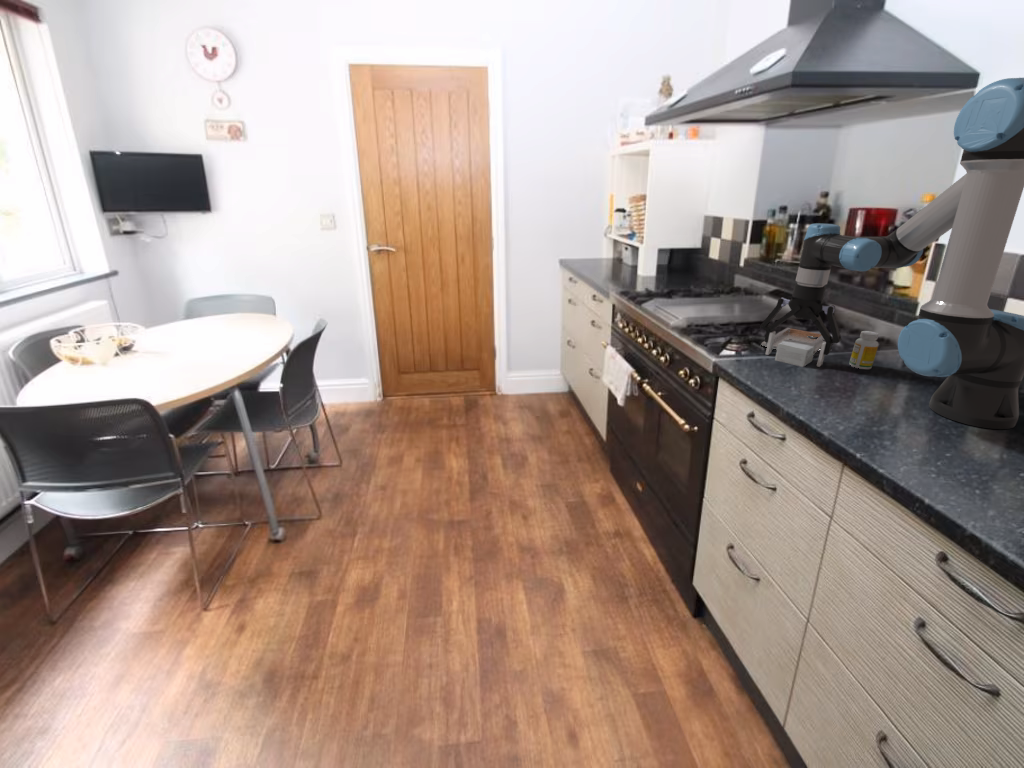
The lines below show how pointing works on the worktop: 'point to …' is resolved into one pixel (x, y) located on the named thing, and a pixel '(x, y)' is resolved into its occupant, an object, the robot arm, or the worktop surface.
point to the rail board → (796, 338)
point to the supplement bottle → (864, 350)
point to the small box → (795, 352)
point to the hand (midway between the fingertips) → (793, 359)
